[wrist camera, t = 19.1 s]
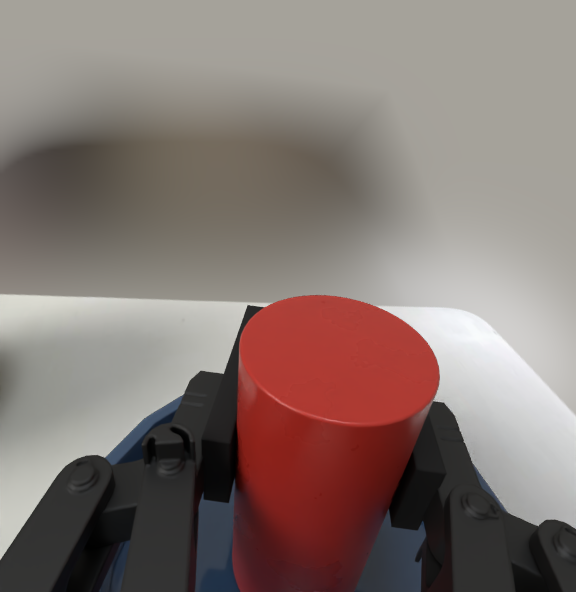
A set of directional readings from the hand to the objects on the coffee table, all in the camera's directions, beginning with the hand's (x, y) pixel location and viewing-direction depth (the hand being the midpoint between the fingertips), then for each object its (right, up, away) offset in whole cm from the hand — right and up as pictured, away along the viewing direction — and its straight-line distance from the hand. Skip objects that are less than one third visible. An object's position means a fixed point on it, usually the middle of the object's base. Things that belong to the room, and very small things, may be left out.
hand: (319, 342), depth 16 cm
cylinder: (-1, -8, -1) cm, 8 cm away
